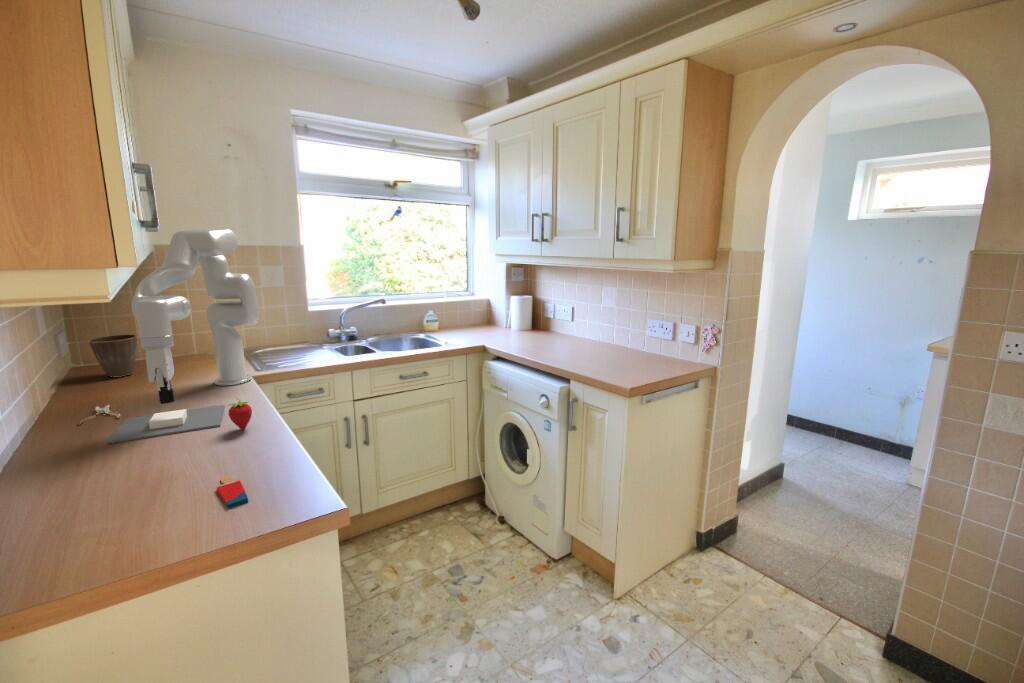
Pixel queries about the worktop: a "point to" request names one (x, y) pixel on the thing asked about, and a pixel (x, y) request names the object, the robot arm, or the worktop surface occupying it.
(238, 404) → the strawberry
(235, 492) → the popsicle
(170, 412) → the tile
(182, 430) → the mat
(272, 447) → the worktop surface
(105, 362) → the plant pot
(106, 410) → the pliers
